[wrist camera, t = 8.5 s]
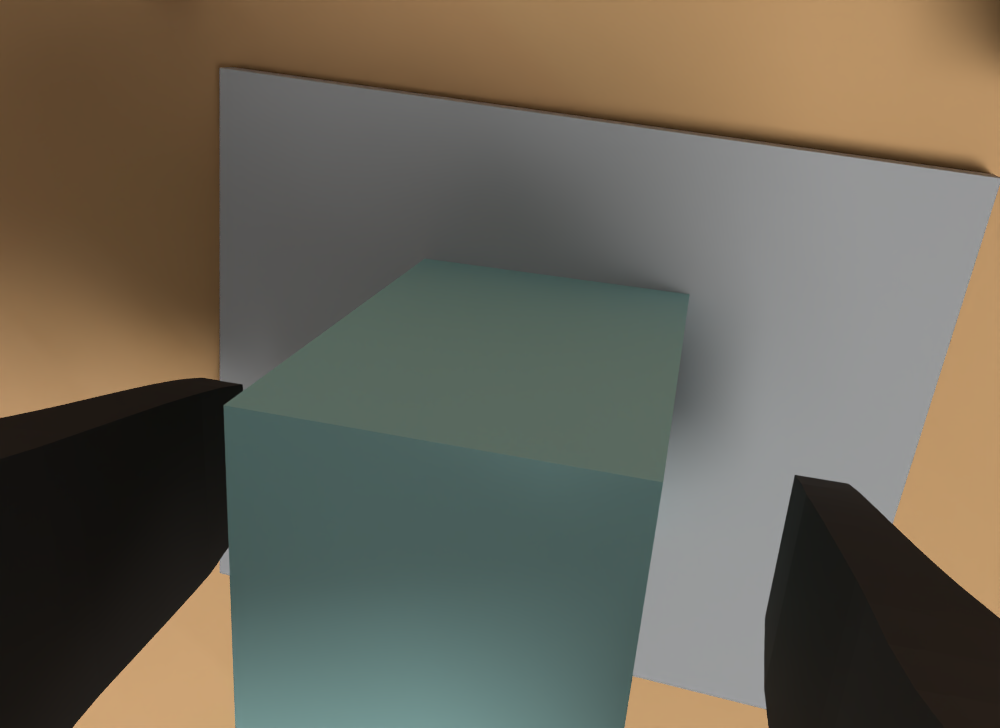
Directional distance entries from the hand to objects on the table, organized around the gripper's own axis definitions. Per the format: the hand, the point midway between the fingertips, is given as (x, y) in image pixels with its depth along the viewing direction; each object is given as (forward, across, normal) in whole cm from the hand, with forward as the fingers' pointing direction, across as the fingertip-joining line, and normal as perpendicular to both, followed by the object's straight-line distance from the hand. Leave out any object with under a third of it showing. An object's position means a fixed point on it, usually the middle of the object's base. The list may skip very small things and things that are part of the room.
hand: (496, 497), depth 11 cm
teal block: (+3, 0, 0) cm, 3 cm away
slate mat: (+3, 0, 0) cm, 3 cm away
